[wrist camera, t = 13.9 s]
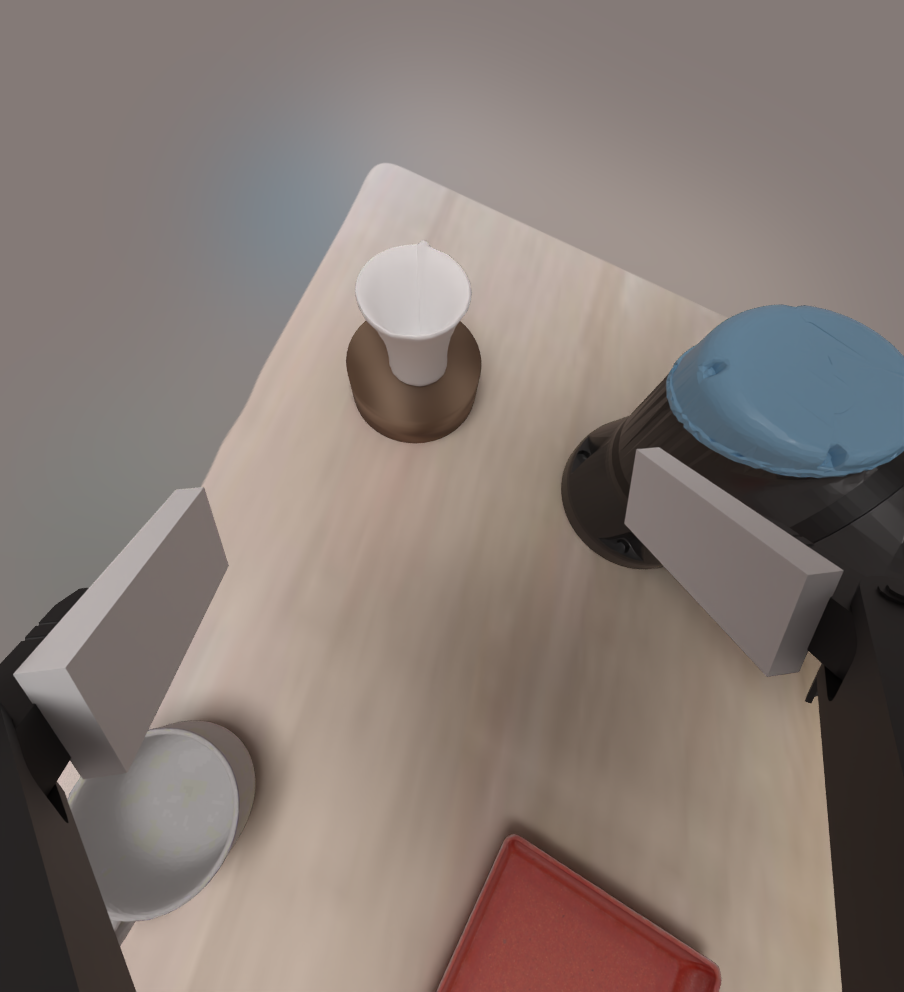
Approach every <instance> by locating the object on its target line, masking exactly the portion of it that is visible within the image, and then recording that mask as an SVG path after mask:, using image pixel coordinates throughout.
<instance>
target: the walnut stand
mask: <svg viewBox="0 0 904 992" xmlns="http://www.w3.org/2000/svg"><path fill="white" fill-rule="evenodd" d="M346 365H347V372H348V376H349V380H350V384H351V388H352V392H353V396H354V399H355V403H356V406H357V408H358V410H359V412H360V414H361V416H362V417H363V418H364V420H365V421H366V422H367V423H368V424H369V425H370V426H371V427H372V428H373V429H375V430H376V431H377V432H379V433H380V434H382V435H384V436H386V437H388V438H391V439H393V440H397V441H400V442H406V443H425V442H430V441H434V440H437V439H440V438H442V437H444V436H446V435H448V434H450V433H451V432H453V431H454V430H456V429H457V428H458V427H459V426H460V425H461V424H462V423H463V422H464V421H465V419H466V418H467V416H468V415H469V413H470V411H471V409H472V406H473V403H474V399H475V395H476V390H477V386H478V382H479V377H480V372H481V356H480V351H479V348H478V345H477V343H476V340H475V338H474V337H473V335H472V334H471V332H470V331H469V330H468V329H467V327H466V326H465V325H464V324H463V323H461V322H459V323H458V324H457V326H456V327H455V329H454V332H453V334H452V336H451V338H450V342H449V346H448V351H447V367H446V370H445V372H444V375H443V376H442V377H441V378H440V379H439V380H437V381H436V382H434V383H432V384H429V385H425V386H413V385H408V384H406V383H404V382H402V381H400V380H399V379H398V378H397V377H396V376H395V375H394V374H393V372H392V370H391V367H390V365H389V356H388V351H387V348H386V345H385V343H384V341H383V340H382V338H381V337H380V335H379V334H378V332H377V330H376V329H374V328H373V327H372V326H371V325H370V324H369V323H368V322H367V321H365V322H364V323H363V324H362V325H361V326H360V327H359V328H358V330H357V331H356V332H355V334H354V335H353V337H352V339H351V341H350V344H349V347H348V351H347V357H346Z"/></svg>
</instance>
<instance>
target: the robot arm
mask: <svg viewBox="0 0 904 992" xmlns="http://www.w3.org/2000/svg"><path fill="white" fill-rule="evenodd" d="M562 500H563V505H564V508H565V512H566V514H567V517H568V519H569V521H570V523H571V525H572V527H573V528H574V530H575V531H576V533H577V534H578V536H579V537H580V538H581V539H582V540H583V541H584V542H585V543H586V544H587V545H588V546H589V547H590V548H591V549H592V550H593V551H595V552H596V553H597V554H599V555H600V556H602V557H604V558H605V559H607V560H609V561H611V562H614V563H616V564H619V565H622V566H626V567H630V568H637V569H652V568H658V567H662V566H664V567H665V568H666V569H667V570H668V571H669V572H670V573H671V574H672V575H673V576H674V577H675V579H676V580H677V581H678V582H679V583H680V584H681V585H682V586H683V587H684V588H685V589H686V590H687V591H688V592H689V594H690V595H691V596H692V597H693V598H694V599H695V600H696V601H697V602H698V603H699V604H700V605H701V606H702V607H703V609H704V610H705V611H706V612H707V613H708V614H709V615H710V616H711V617H712V618H713V619H714V620H715V621H716V622H717V624H718V625H719V626H720V627H721V628H722V629H723V630H724V631H725V632H726V633H727V634H728V635H729V636H730V637H731V639H732V640H733V641H734V642H735V643H736V644H737V645H738V646H739V647H740V648H741V649H742V650H743V651H744V653H745V654H746V655H747V656H748V657H749V658H750V659H751V660H752V661H753V662H754V663H755V664H756V665H757V666H758V668H759V669H760V670H761V671H762V672H763V673H764V674H765V675H766V676H767V677H769V676H776V675H782V674H789V673H796V672H799V671H800V668H801V666H802V664H803V662H804V659H805V657H806V655H807V652H808V651H809V652H810V653H811V654H813V655H814V656H815V657H816V658H817V659H818V660H819V661H820V662H821V663H822V664H821V666H820V668H819V670H818V672H817V675H816V677H815V679H814V681H813V683H812V685H811V687H810V689H809V692H808V694H807V697H806V700H805V701H806V702H808V703H812V701H813V699H814V697H815V696H818V701H819V714H820V726H821V738H822V750H823V762H824V774H825V787H826V799H827V811H828V823H829V835H830V848H831V860H832V872H833V884H834V896H835V908H836V921H837V933H838V945H839V957H840V969H841V981H842V992H904V356H903V355H902V354H901V353H900V352H899V351H898V350H897V349H896V348H895V347H894V346H893V345H892V344H891V343H890V342H888V341H887V340H886V339H885V338H883V337H882V336H881V335H879V334H878V333H877V332H875V331H874V330H872V329H870V328H869V327H867V326H865V325H863V324H862V323H860V322H857V321H856V320H854V319H852V318H849V317H847V316H844V315H842V314H839V313H836V312H833V311H830V310H826V309H822V308H817V307H812V306H805V305H804V306H798V307H792V306H787V305H769V306H763V307H758V308H754V309H750V310H747V311H744V312H741V313H739V314H737V315H735V316H732V317H731V318H729V319H727V320H725V321H724V322H722V323H721V324H720V325H718V326H717V327H716V328H714V329H713V330H712V331H711V332H710V333H709V334H708V335H707V336H706V337H705V338H704V339H702V340H701V341H700V342H699V343H698V344H697V345H695V346H694V347H692V348H690V349H689V350H688V351H686V352H685V353H684V354H683V355H682V356H681V357H680V358H679V359H678V360H677V361H676V362H675V363H674V366H673V368H672V369H671V371H670V372H669V374H668V375H667V376H666V377H665V378H664V379H663V381H662V382H661V383H660V384H659V385H658V386H657V387H656V388H655V389H654V390H653V391H652V392H651V394H650V395H649V396H648V397H647V398H646V399H645V400H644V401H643V402H642V403H641V404H640V405H639V406H638V407H637V408H636V409H635V410H634V411H633V413H632V414H631V415H630V416H628V417H625V418H622V419H619V420H616V421H613V422H610V423H607V424H605V425H603V426H601V427H599V428H597V429H596V430H594V431H593V432H591V433H590V434H589V435H588V436H587V437H585V438H584V439H583V440H582V442H581V443H580V444H579V445H578V446H577V448H576V449H575V450H574V451H573V453H572V454H571V456H570V457H569V459H568V461H567V463H566V466H565V469H564V472H563V477H562ZM228 566H229V565H228V562H227V559H226V556H225V552H224V549H223V546H222V543H221V540H220V536H219V533H218V530H217V527H216V524H215V521H214V517H213V514H212V511H211V508H210V505H209V501H208V498H207V495H206V492H205V489H204V487H200V488H189V489H178V490H175V491H174V492H173V494H172V495H171V496H170V497H169V498H168V499H167V500H166V501H165V502H164V504H163V505H162V506H161V507H160V508H159V509H158V510H157V512H156V513H155V514H154V515H153V516H152V517H151V518H150V520H149V521H148V522H147V523H146V524H145V525H144V526H143V528H142V529H141V530H140V531H139V532H138V533H137V534H136V535H135V536H134V538H133V539H132V540H131V541H130V542H129V543H128V544H127V546H126V547H125V548H124V549H123V550H122V551H121V552H120V553H119V555H118V556H117V557H116V558H115V559H114V560H113V561H112V563H111V564H110V565H109V566H108V567H107V568H106V569H105V571H104V572H103V573H102V574H101V575H100V576H99V577H98V578H97V580H96V581H95V582H94V583H93V584H92V585H91V586H90V588H82V589H78V590H77V591H75V592H74V593H72V594H71V595H69V596H68V597H66V598H65V599H63V600H62V601H61V602H59V603H58V604H56V605H55V606H54V607H53V608H52V609H51V610H50V611H49V612H48V613H47V615H46V616H45V617H44V618H43V619H42V620H41V621H40V622H39V626H35V627H34V628H33V629H32V630H31V632H30V633H29V634H28V635H27V636H26V637H25V641H21V642H20V643H19V644H18V646H16V648H15V649H14V650H13V651H12V652H11V653H10V654H9V655H8V656H7V657H6V658H5V659H4V660H3V662H2V663H1V664H0V992H136V990H135V987H134V984H133V982H132V979H131V976H130V973H129V970H128V968H127V965H126V962H125V959H124V957H123V954H122V951H121V948H120V945H119V943H118V940H117V937H116V934H115V931H114V929H113V926H112V923H111V920H110V918H109V915H108V912H107V909H106V906H105V904H104V901H103V898H102V895H101V892H100V890H99V887H98V884H97V881H96V879H95V876H94V873H93V870H92V867H91V865H90V862H89V859H88V856H87V853H86V851H85V848H84V845H83V842H82V840H81V837H80V834H79V831H78V828H77V826H76V823H75V820H74V817H73V814H72V812H71V809H70V806H69V803H68V801H67V798H66V795H65V792H64V791H63V789H62V788H61V786H60V785H59V784H58V782H57V780H58V778H59V777H60V775H61V774H62V772H63V770H64V769H65V767H66V765H67V764H68V762H69V761H71V762H72V764H73V765H74V767H75V768H76V770H77V771H78V773H79V774H80V776H81V777H82V779H83V780H84V779H91V778H97V777H104V776H111V775H117V774H124V773H127V772H128V770H129V768H130V766H131V764H132V762H133V760H134V758H135V756H136V754H137V752H138V750H139V748H140V746H141V744H142V742H143V740H144V738H145V736H146V734H147V731H148V729H149V727H150V725H151V723H152V721H153V719H154V717H155V715H156V713H157V711H158V709H159V707H160V705H161V703H162V701H163V699H164V697H165V695H166V693H167V691H168V689H169V687H170V684H171V682H172V680H173V678H174V676H175V674H176V672H177V670H178V668H179V666H180V664H181V662H182V660H183V658H184V656H185V654H186V652H187V650H188V648H189V646H190V644H191V642H192V640H193V638H194V635H195V633H196V631H197V629H198V627H199V625H200V623H201V621H202V619H203V617H204V615H205V613H206V611H207V609H208V607H209V605H210V603H211V601H212V599H213V597H214V595H215V593H216V591H217V588H218V586H219V584H220V582H221V580H222V578H223V576H224V574H225V572H226V570H227V568H228Z"/></svg>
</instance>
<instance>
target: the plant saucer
mask: <svg viewBox="0 0 904 992" xmlns="http://www.w3.org/2000/svg"><path fill="white" fill-rule="evenodd" d="M720 986H721V973H720V969H719V967H718V966H717V965H716V964H715V963H714V962H713V961H711V960H710V959H708V958H707V957H705V956H704V955H702V954H700V953H699V952H697V951H696V950H694V949H693V948H691V947H690V946H688V945H687V944H685V943H683V942H682V941H680V940H679V939H677V938H676V937H674V936H673V935H671V934H669V933H668V932H666V931H665V930H663V929H662V928H660V927H659V926H657V925H656V924H654V923H652V922H651V921H650V920H648V919H647V918H645V917H643V916H642V915H640V914H639V913H637V912H635V911H634V910H632V909H631V908H629V907H628V906H626V905H625V904H623V903H622V902H620V901H619V900H617V899H616V898H614V897H613V896H611V895H609V894H608V893H606V892H605V891H604V890H602V889H601V888H599V887H598V886H596V885H594V884H593V883H591V882H590V881H588V880H587V879H585V878H583V877H582V876H581V875H579V874H577V873H576V872H574V871H573V870H571V869H569V868H568V867H567V866H565V865H564V864H562V863H560V862H559V861H557V860H556V859H554V858H553V857H551V856H550V855H548V854H547V853H545V852H544V851H542V850H541V849H539V848H538V847H536V846H535V845H533V844H532V843H530V842H528V841H527V840H526V839H524V838H522V837H521V836H519V835H517V834H510V835H508V836H507V837H506V838H505V839H504V841H503V843H502V846H501V848H500V850H499V852H498V855H497V857H496V859H495V861H494V864H493V866H492V868H491V870H490V873H489V875H488V877H487V879H486V881H485V884H484V886H483V888H482V890H481V893H480V895H479V897H478V899H477V901H476V904H475V906H474V908H473V910H472V912H471V915H470V917H469V919H468V921H467V924H466V926H465V928H464V931H463V933H462V935H461V937H460V939H459V942H458V944H457V946H456V948H455V950H454V953H453V955H452V957H451V959H450V962H449V964H448V966H447V968H446V970H445V973H444V975H443V977H442V979H441V981H440V984H439V986H438V989H437V991H436V992H719V989H720Z"/></svg>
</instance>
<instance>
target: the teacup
mask: <svg viewBox="0 0 904 992" xmlns="http://www.w3.org/2000/svg"><path fill="white" fill-rule="evenodd" d="M254 795H255V772H254V767H253V763H252V759H251V757H250V755H249V752H248V750H247V749H246V747H245V746H244V744H243V743H242V741H241V740H240V739H239V738H238V737H237V736H236V735H235V734H234V733H232V732H231V731H229V730H228V729H226V728H225V727H222V726H220V725H218V724H215V723H211V722H207V721H184V722H178V723H174V724H170V725H166V726H163V727H159V728H155V729H150V730H148V731H147V734H146V736H145V738H144V740H143V742H142V744H141V746H140V748H139V750H138V752H137V754H136V756H135V758H134V760H133V762H132V764H131V766H130V768H129V770H128V772H127V773H124V774H117V775H111V776H104V777H97V778H91V779H84V780H83V779H82V777H80V779H79V780H78V782H77V783H76V784H75V786H74V788H73V789H72V791H71V792H70V794H69V798H68V800H67V801H68V803H69V806H70V809H71V812H72V814H73V817H74V820H75V823H76V826H77V828H78V831H79V834H80V837H81V840H82V842H83V845H84V848H85V851H86V853H87V856H88V859H89V862H90V865H91V867H92V870H93V873H94V876H95V879H96V881H97V884H98V887H99V890H100V892H101V895H102V898H103V901H104V904H105V906H106V909H107V912H108V915H109V918H110V920H111V923H112V926H113V929H114V931H115V934H116V937H117V940H118V943H119V945H120V946H121V944H122V942H123V941H124V939H125V938H126V936H127V934H128V933H129V931H130V930H131V928H132V926H133V925H134V923H135V921H144V920H150V919H153V918H156V917H159V916H162V915H165V914H167V913H169V912H171V911H173V910H175V909H177V908H179V907H181V906H182V905H184V904H185V903H187V902H188V901H190V900H191V899H192V898H193V897H194V896H196V895H197V894H198V893H199V892H200V891H201V890H202V889H203V888H204V887H205V886H206V885H207V884H208V883H209V882H210V880H211V879H212V878H213V876H214V875H215V874H216V873H217V871H218V870H219V868H220V867H221V865H222V864H223V862H224V860H225V858H226V856H227V855H228V853H229V852H230V850H231V849H232V847H233V846H234V844H235V843H236V841H237V839H238V838H239V836H240V834H241V832H242V831H243V829H244V827H245V825H246V822H247V820H248V818H249V815H250V812H251V809H252V805H253V800H254Z"/></svg>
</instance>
